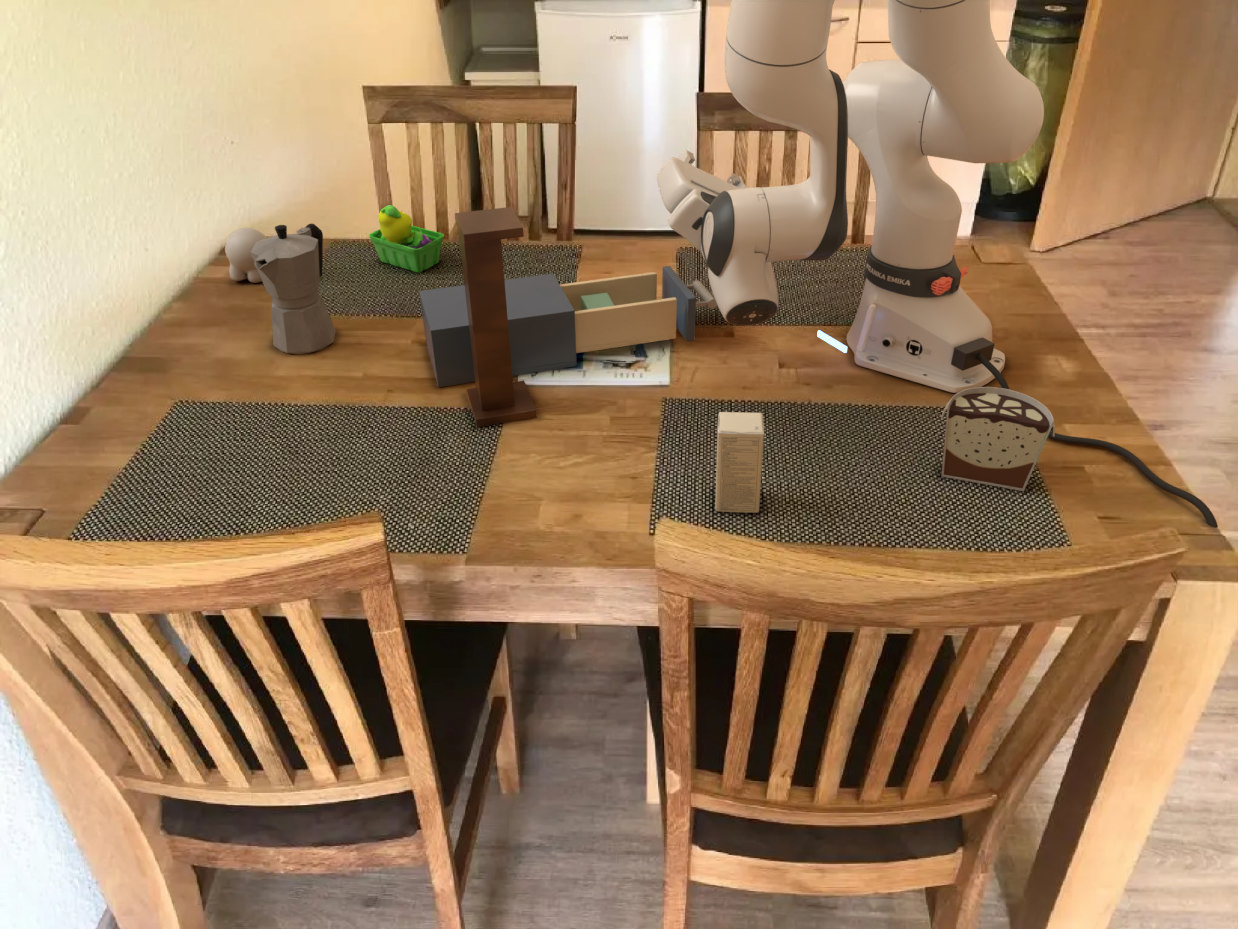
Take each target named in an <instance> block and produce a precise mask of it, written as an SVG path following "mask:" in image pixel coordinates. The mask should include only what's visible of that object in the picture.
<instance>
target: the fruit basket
mask: <svg viewBox="0 0 1238 929" xmlns="http://www.w3.org/2000/svg"><path fill="white" fill-rule="evenodd" d="M377 216H378V217H377V220H378V223H379V229H377V230H375V231H372V232H370V233H369V234H368V238H369V239H370V242H372V245H373V247H374V248H375V250H376V253H377V256H378V257H379V260H380V262H382V263H385V264H389V265H391V266H395V267H398V268H401V269H405V270H408V271H412V272H413V273H418V274H421V273H422V272H423V271H427V270H428V269H429V268H431V267H433V266H434V265H437V264H439V262H440V258H441V257H440V256H441V249H442V243H443V241H444V236H445V235H444V233H442V232H438V231H435V230H430V229H427V228H423V227H420V226H415V225H413V218H412V217H411V216H410V215H409V214H408V213H406V212H404V211H402V210H399V209H398V208H397V207H396V206H394V205H391V204H388V205H386V206H384V207H383V208H381V209H380V211H379V213H378V215H377Z"/></svg>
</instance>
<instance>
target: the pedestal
mask: <svg viewBox="0 0 1238 929" xmlns="http://www.w3.org/2000/svg"><path fill="white" fill-rule="evenodd" d="M454 221H455V225H456V226H457V229H458V240H459V247H460V248H459V249H460V257H461V258H460V259H461V267H462V274H463V275H462V276H463V285H464V286H465V295H466V304H467V313H468V322H469V331H470V341H471V350H472V359H473V368H474V377H475V382H474V384H475V387H472V388H466V390H465V391H466V392H465V393H466V399H467V401H468V404H469V407H470V412H471V414H472V416H473V420H474V424H475V427H476V428H481V427H486V426H492V425H499V424H506V423H512V422H517V421H523V420H529V419H535V418H538V411H537V408H536V406H535V403H534V400H533V399H532V396H531V394H530V391H529V389H528V387H527V384H526V382H525V380H524V379H523V380H517V381H514V378H513V377H514V376H512V364H511V352H510V340H509V328H508V316H507V304H506V292H505V280H506V279H505V270H504V256H503V247H502V246H503V245H502V240H509V239H517V238H524V237H525V234H524V226H523V224H522V222H521V221H520V219H519V218H518V216H517V214H516V212H515V211H514V209H513V207H512V206H507V207H498V208H489V209H480V210H472V211H471V210H470V211H461V212H454Z"/></svg>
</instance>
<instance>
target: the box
mask: <svg viewBox="0 0 1238 929" xmlns="http://www.w3.org/2000/svg"><path fill="white" fill-rule="evenodd" d="M717 416H718V417H717V433H716V434H717V436H716V438H717V439H716V441H717V442H716V467H715V468H716V470H715V471H716V473H715V474H716V475H715V502H714V503H715V505H714V507H715V511H716V512H722V513H743V514H744V513H745V514H746V513H748V514H750V513H754V514H756V513H759V512H760V502H761V485H762V484H761V483H762V470H763V457H764V456H763V454H764V439H765V423H764V414H763V413H762V412H745V411H744V412H743V411H742V412H741V411H738V412H737V411H735V412H733V411H720V412H718V415H717Z"/></svg>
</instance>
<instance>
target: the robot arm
mask: <svg viewBox="0 0 1238 929" xmlns="http://www.w3.org/2000/svg"><path fill="white" fill-rule="evenodd" d="M834 3H835V0H731V1H730V6H729V13H728V18H727V26H726V36H725V43H724V44H725V45H724V75H725V76H724V77H725V82H726V85H727V86H728V89H729V91H730V93H731V95H732V96H733V97H734V99H735V100H736V101H737V102H738V103H739V105H741V106H742V107H743V108H744V109H745V110H747V111H748V112H749V113H751V114H752V115H754V116H755V117H758V118H759V119H762V120H764V121H766V122H768V123H769V122H770V123H772V124H775V125H781V126H785V127H788V128H792V129H795V130H798V131H799V132H802V133H804V134H807V135H808V136H809V176H808V177H807V178H806V179H805V180H803V181H801V182H798V183H795V184H786V185H785V184H784V185H774V186H773V185H772V186H761V187H759V186H757V187H756V186H755V187H748V186H747V185H746V184H745V183H744V180H743V177H742V176H741V175H738V174H736V173H734V172H733V173H731V174H730V176H728V178H727V180H724V179H721V178H719V177H718V176H716V175H713V174H711V173H710V172H708V171H705V170H704V169H703V170H702V169H701V168H699V167H696V166H694V165H693V163H694V162H695V161H696V158H695V155H694V153H693V152H691V151H689V150H687V149H683V150H682V151H681V153H679V156H678V157H675V156H672V157H670V158H669V159H668V160H666V161H665V163H664V164H663V165H662V166H661V167H660V169H659V171H658V173H657V174H656V175H657V176H656V180H657V185H658V188H659V189H658V191H659V193H660V198H661V200H662V204H663V205H664V207H665V209H666V210H667V211H668V213H669V214H670V215H669V216H668V218H667V223H668V226H669V227H670V229H672V230H673V231H674V232H675V233H677V234H678V235H680V236H681V237H683V238H684V239H685V240H687V241H688V242H689V243H690V244H691V245H692V246H693V247H694V248H695V249H696V250H697V251H698V252H700V253H701V255H702V258H703V260H704V262H705V265H706V266H707V277H708V282H709V285H710V288H711V292H712V296H713V297H714V298H715V300H716V303H717V307H718V310H719V312H720V314H721V315H722V317H723V319H724V320H725V322H727V323H728V324H730V325H731V326H732V325H733V326H737V327H746V326H753V325H759V324H762V323H764V322H766V321H769V320H770V319H771V318H773V317H774V316H775V315H776V314H777V312H778V310H779V307H780V306H779V305H780V302H779V293H778V285H777V281H776V275H775V272H774V267H773V264H772V263H777V262H788V261H827V260H828V259H830V258H831V257H832V256H833V255H834V254H835V253H837V251H838V250H839V249H840V248H841V247H842V246H843V244H844V243H845V241H846V240H847V237H848V230H849V214H848V202H847V200H848V199H847V174H848V173H847V171H848V141H849V140H850V141H851V142H852V144H854V145H855V146H856V148H857V149H858V150H859V152H860V153H861V156H862V157H863V158H864V160H865V162H866V164H867V167H868V169H869V171H870V174H871V178H872V181H873V186H874V193H875V209H874V210H875V212H874V225H873V233H872V240H871V245H870V246H869V247H868V250H867V254H866V259H865V265H864V271H863V280H864V285H863V289H862V290H863V291H862V294H861V298H860V301H859V305H858V307H857V311H856V314H855V317H854V319H853V322H852V323H851V326H850V328H849V330H848V332H847V333H846V338H845V340H846V343H847V345H845V344H843V343H842V342H840V341H838V340H837V339H835V338H834V337H832V336H830V335H829V334H827V333H825V332H823V331H821V330H820V329H819V330H817V333H816V334H817V335H816V336H817V338H819V339H821V340H823V341H824V342H826V343H827V344H829V345H830V346H833V347H834V348H836V349H838V350H839V351H841V352H842V353H844V354H846V353H848V347H849V348H850V350H851V351H852V352H853V354H854V356H853V360H854V363H855V364H856V365H858V366H859V367H863V368H866V369H870V370H872V371H876V372H880V373H883V374H887V375H891V376H894V377H896V378H899V379H900V378H901V379H904V380H906V381H907V380H908V381H911V382H914V383H917V384H920V385H924V386H928V387H931V388H935V389H938V390H941V391H945V392H949V393H952V394H953V393H954V394H957V393H959V392H960V391H963V390H966V389H970V388H976V387H985V386H986V385H987V384H989V383H990V382H992V381H993V380H996V381H997V382H998V384H999V385H1000V388H1004V389H1009V390H1011V389H1010V387H1009V385H1008V382H1007V380H1006V379H1005V377H1004V376H1003V374H1002V371H1003V370H1004V368H1005V365H1006V355H1005V353H1004V352H1002V351H1000V350H999V349H997V348H995V345H996V343H995V342H993V325H992V323H991V322H992V321H991V320H990V318H989V317H988V316H987V315H986V314H985V313H984V312H983V310H981V309H980V307H979V306H978V305H977V304H976V302H974V300H973V299H972V298H971V297H970V295H969V294H968V293H967V292H966V291H965V289H964V288H963V287H962V286H961V279H962V278H963V277H965V276H966V275H967V274H968V273H969V272H968V270H969V268H970V267H969V265H966V266H965V267H963V268H959V267H958V264H957V260H956V257H955V254H954V252H955V248H956V242H957V237H958V232H959V227H960V222H961V217H962V214H963V208H962V203H961V200H960V197H959V195H958V193H957V192H956V190H955V189H954V188H953V187H952V186H951V185H950V184H949V183H948V182H946V181H945V180H943V179H942V178H941V177H940V176H939V175H938V174H937V173H936V172H935V171H934V170H933V168H932V166H931V164H930V161H929V158H928V157H932V158H939V159H945V160H952V161H956V162H957V161H958V162H964V163H969V164H1001V163H1002V164H1003V163H1013V162H1016V161H1017V160H1018V159H1020V158H1021V157H1023V156H1024V155H1025V154H1026V153H1027V152H1028V151H1029V150H1030V149H1031V148H1032V146H1033V145H1034V144H1035V142H1036V141H1037V139H1038V137H1039V135H1040V134H1041V130H1042V127H1043V123H1044V118H1045V105H1044V100H1043V97H1042V94H1041V91H1040V89H1039V87H1038V86H1037V85H1036V83H1035V82H1034V81H1032V80H1030V79H1029V78H1027V77H1026V76H1025V75H1023V74H1022V73H1020V72H1019V71H1018V70H1017V69H1016V68H1015V67H1014V66H1013V65H1012V64H1011V62H1010V61H1009V60H1008V59H1007V57H1006V56H1005V54H1004V52H1002V50H1001V49H1000V46H999V45H998V42H997V41H996V38H995V36H994V32H993V28H992V25H991V7H990V6H991V0H887V26H888V39H889V42H890V45H891V47H892V49H893V51H894V53H895V54H896V56H897V57H898V58H893V59H892V58H890V59H879V60H870V61H862V62H859V63H858V65H856V66H855V67H854V68H853V69H851V70H850V72H849V73H848V74H847V76H846V77H845V79H844V80H842V79H841V76H840V74H839V73H837V72H835V71H833V70H832V69H830V68H829V66H828V61H827V49H828V44H829V38H830V33H831V32H830V31H831V24H832V18H833V17H832V16H833V7H834ZM1047 439H1050V440H1053V441H1057V442H1061V443H1065V444H1066V443H1067V444H1072V445H1081V446H1082V445H1083V446H1089V447H1091V446H1092V447H1096V448H1102V449H1106V450H1109V451H1112V452H1114V453H1116V454H1118V455H1120V456H1121V457H1124V458H1125V459H1126V460H1128V461H1129V462H1130V463H1132V465H1134V466H1135V467H1136V468H1137V469H1138V470H1139V471H1140V473H1141V474H1142V475H1143V476H1144V477H1145V478H1146V479H1147V480H1149V481H1150V482H1151V483H1153V485H1155V486H1157V487H1158V488H1160V489H1162V490H1163V491H1165V492H1167V493H1169V494H1171V495H1174V496H1177V497H1179V498H1180V499H1182V500H1185V501H1187V502H1189V503H1190V504H1192V505H1193V506H1194V507H1195V508H1197V509H1198V511H1199V512H1200V513H1201V514H1202V516H1203V517H1204V519H1205V521H1206V523H1207V525H1208V526H1209V527H1211V528H1215V529H1217V528H1218V527H1219V525H1218V521H1217V520H1216V517H1215V515H1214V514H1213V512H1212V511H1211V509H1210V508H1209V506H1207V504H1206V503H1205V502H1204V501H1203V500H1202V499H1200V498H1198V496H1196V495H1194V494H1193V493H1190V492H1188V491H1186V490H1184V489H1181V488H1179V487H1177V486H1175V485H1172V484H1170V483H1169V482H1166V481H1165V480H1163V479H1162V478H1161V477H1159V476H1158V475H1157V474H1155V473H1154V472H1153V471H1152V470H1151V469H1150V468H1149V467H1148V466H1147V465H1146V463H1144V462H1143V460H1141V459H1140V458H1139V457H1138V456H1137V455H1135V454H1134V453H1133V452H1131V451H1130V450H1128V449H1126V448H1124V447H1122V446H1120V445H1118V444H1115V443H1112V442H1109V441H1106V440H1103V439H1102V440H1101V439H1098V438H1097V439H1096V438H1090V437H1081V436H1072V435H1066V434H1061V433H1057V432H1055V437H1053V435H1052V431H1051V430H1050V433H1049V435H1048V437H1047Z"/></svg>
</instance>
